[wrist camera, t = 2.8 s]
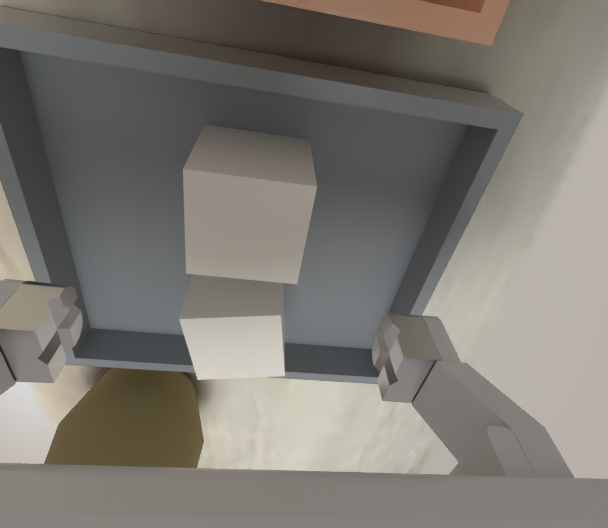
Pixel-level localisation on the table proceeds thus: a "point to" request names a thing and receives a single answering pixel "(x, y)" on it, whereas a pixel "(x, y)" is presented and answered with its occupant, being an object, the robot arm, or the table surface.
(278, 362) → the block
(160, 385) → the squeeze bottle
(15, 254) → the table surface
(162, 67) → the tray
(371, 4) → the bin
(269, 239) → the white cube
